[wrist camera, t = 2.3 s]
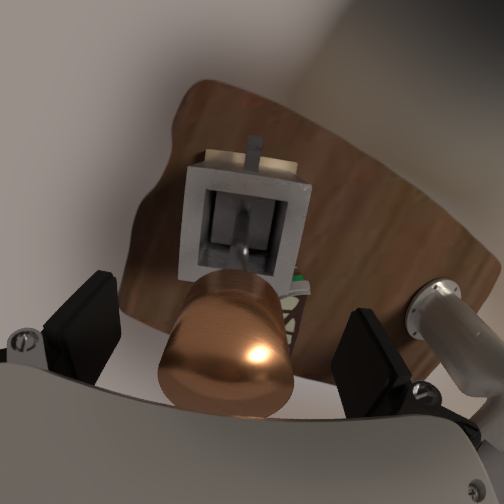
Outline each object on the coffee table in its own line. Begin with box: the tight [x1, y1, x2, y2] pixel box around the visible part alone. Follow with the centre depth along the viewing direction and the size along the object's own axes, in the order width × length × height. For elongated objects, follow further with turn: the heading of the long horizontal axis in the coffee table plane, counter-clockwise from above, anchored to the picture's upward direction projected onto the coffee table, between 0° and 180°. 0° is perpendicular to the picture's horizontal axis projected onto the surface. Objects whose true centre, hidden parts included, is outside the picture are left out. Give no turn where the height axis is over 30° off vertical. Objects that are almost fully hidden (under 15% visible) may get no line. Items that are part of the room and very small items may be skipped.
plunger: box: [158, 191, 294, 418], centre depth 17 cm, size 5×5×20 cm
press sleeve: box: [178, 135, 312, 295], centre depth 27 cm, size 9×12×14 cm
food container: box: [278, 265, 311, 359], centre depth 36 cm, size 12×6×10 cm, turn 173°
